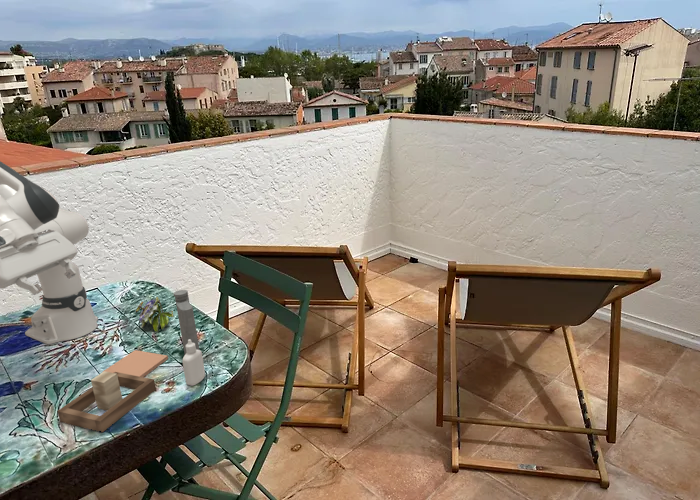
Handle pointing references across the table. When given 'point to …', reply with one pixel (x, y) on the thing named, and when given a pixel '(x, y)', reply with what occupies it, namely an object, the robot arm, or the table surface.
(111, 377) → the ash post
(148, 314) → the passion flower
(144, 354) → the terracotta tile
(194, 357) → the eye dropper bottle
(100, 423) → the walnut stand
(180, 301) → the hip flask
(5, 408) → the table surface
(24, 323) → the table surface
